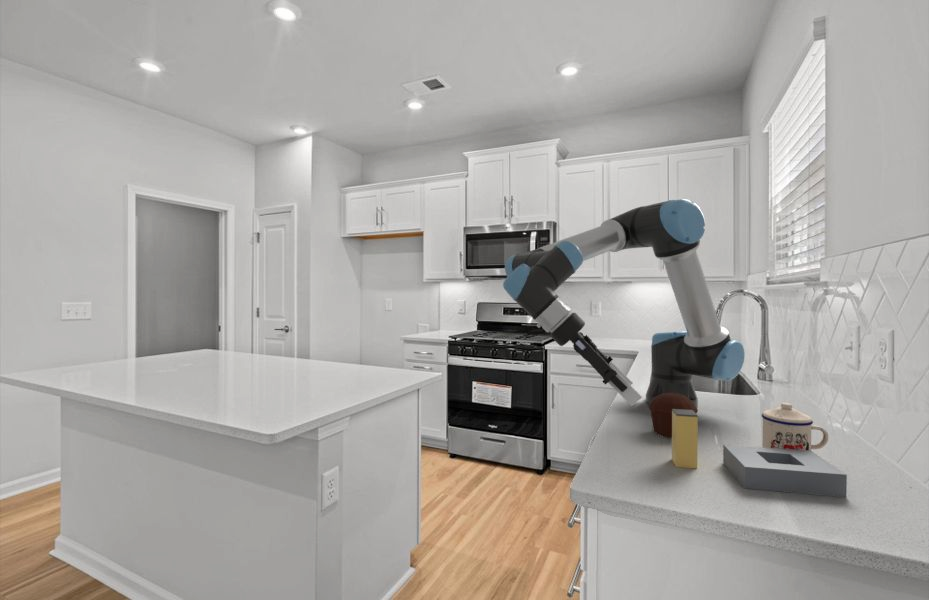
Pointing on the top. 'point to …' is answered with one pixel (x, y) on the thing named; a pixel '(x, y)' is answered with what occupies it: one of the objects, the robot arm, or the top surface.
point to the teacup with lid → (789, 429)
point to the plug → (684, 438)
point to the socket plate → (784, 470)
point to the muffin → (667, 411)
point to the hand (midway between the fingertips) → (632, 393)
